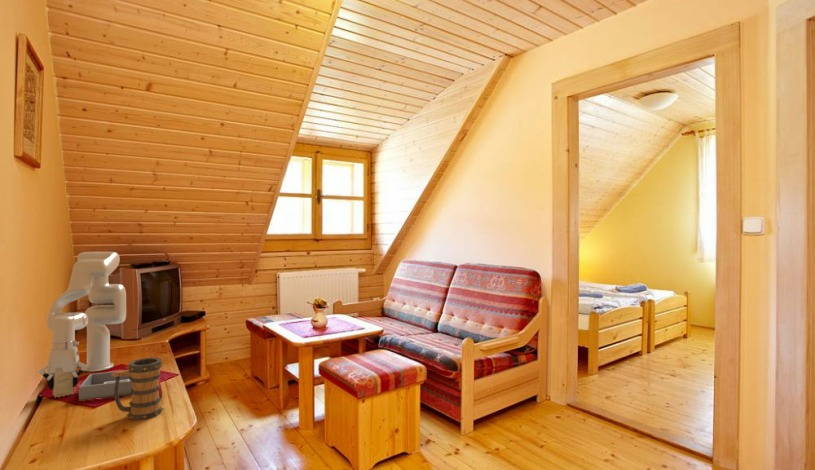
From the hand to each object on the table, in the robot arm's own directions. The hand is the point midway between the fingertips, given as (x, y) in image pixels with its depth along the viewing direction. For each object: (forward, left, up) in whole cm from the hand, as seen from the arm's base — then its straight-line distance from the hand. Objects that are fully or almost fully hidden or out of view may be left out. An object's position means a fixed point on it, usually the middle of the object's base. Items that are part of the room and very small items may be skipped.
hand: (63, 387), depth 184 cm
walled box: (+3, +19, -3) cm, 20 cm away
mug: (+37, +32, -4) cm, 49 cm away
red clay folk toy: (+22, +35, -4) cm, 41 cm away
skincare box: (0, 0, -4) cm, 4 cm away
